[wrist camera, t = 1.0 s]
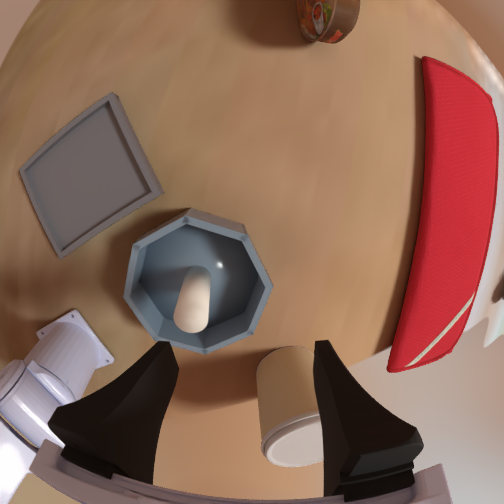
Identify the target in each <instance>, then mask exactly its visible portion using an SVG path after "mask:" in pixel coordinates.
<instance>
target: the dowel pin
mask: <svg viewBox="0 0 504 504" xmlns="http://www.w3.org/2000/svg"><path fill="white" fill-rule="evenodd" d="M210 285H211V275H210V272H209V271H208V270H207V269H206V268H205V267H203V266H192V267H190V268H189V269H188V270H187V272H186V274H185V277H184V281H183V284H182V287H181V291H180V294H179V297H178V301H177V304H176V308H175V311H174V315H173V318H174V322H175V324H176V326H177V327H178V328H179V329H181V330H182V331H184V332H188V333H197V332H200V331H202V330H203V329H204V328H205V327H206V326H207V323H208V314H209V299H210Z"/></svg>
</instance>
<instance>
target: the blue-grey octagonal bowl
mask: <svg viewBox="0 0 504 504" xmlns="http://www.w3.org/2000/svg"><path fill="white" fill-rule="evenodd" d="M132 246H133V247H132V251H131V256H130V262H129V267H128V272H127V278H126V284H125V290H124V296H123V298H124V299H125V301H126V302H127V304H128V305H129V307H130V308H131V309H132V311H133V312H134V314H135V315H136V317H137V318H138V319H139V321H140V322H141V323H142V325H143V326H144V328H145V329H146V330H147V332H148V333H149V334H150V336H151V337H152V338H153V339H154V341H170V344H171V345H172V346H175V347H179V348H182V349H186V350H190V351H194V352H198V353H202V354H207V353H210V352H212V351H215V350H217V349H220V348H222V347H225V346H227V345H229V344H232V343H234V342H236V341H239V340H241V339H243V338H246V337H248V336H250V335H253V334H254V331H255V329H256V326H257V324H258V321H259V319H260V317H261V314H262V312H263V310H264V307H265V305H266V303H267V300H268V298H269V295H270V293H271V291H272V288H273V284H272V282H271V279H270V277H269V275H268V273H267V270H266V269H265V267H264V265H263V263H262V261H261V259H260V257H259V255H258V253H257V251H256V249H255V247H254V245H253V243H252V241H251V239H250V237H249V235H248V233H247V231H246V228H245V226H244V225H243V224H240V223H237V222H234V221H231V220H228V219H225V218H221V217H218V216H215V215H212V214H209V213H206V212H202V211H199V210H196V209H193V208H190V209H188V210H186V211H184V212H182V213H181V214H179V215H177V216H175V217H173V218H171V219H170V220H168V221H166V222H164V223H162V224H161V225H159V226H157V227H155V228H153V229H152V230H150V231H148V232H145V233H144V234H143V235H142V236H141V237H140V238H139V239H138V240H137V241H136V242H135V243H134V244H133V245H132ZM192 266H203V267H205V268H206V269H207V270H208V271H209V272H210V275H211V285H210V299H209V314H208V323H207V326H206V327H205V328H204V329H203V330H202V331H200V332H197V333H188V332H184V331H182V330H181V329H179V328H178V327H177V326H176V324H175V322H174V318H173V315H174V311H175V308H176V304H177V301H178V297H179V294H180V291H181V287H182V284H183V281H184V277H185V274H186V272H187V270H188V269H189V268H190V267H192Z"/></svg>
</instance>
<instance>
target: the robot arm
mask: <svg viewBox="0 0 504 504" xmlns="http://www.w3.org/2000/svg"><path fill="white" fill-rule="evenodd" d="M72 314H73V315H74V316H73V315H72ZM36 334H37V336H38V338H39V339H40V340H39V341H38V342H37V344H36V345H35V346H34V347H33V349H32V350H31V351H30V352H29V354H28V355H27V356H26V357H25V359H24V360H17V359H14V360H12V361H11V362H10V363H9V364H7V365H6V366H5V367H4V368H3V369H2V370H1V372H0V413H1V414H2V415H3V416H4V417H5V418H6V419H7V420H8V421H9V422H10V423H11V424H12V425H13V426H14V427H15V428H16V429H17V430H18V431H20V432H21V433H22V434H23V435H24V436H25V437H26V438H27V439H28V440H30V441H31V442H32V443H33V444H34V445H36V446H37V447H38V448H36V447H34V446H33V445H31V444H30V443H29V442H27V441H26V440H25V439H24V438H23V437H22V436H20V435H19V434H18V433H17V432H16V431H15V430H14V429H13V428H12V427H11V426H10V425H9V424H8V423H7V422H6V421H5V420H4V419H3V418H2V417H1V416H0V504H8V503H9V501H10V500H11V498H12V496H13V495H14V493H15V491H16V490H17V488H18V487H19V485H20V483H21V482H22V480H23V479H24V477H25V476H26V474H27V473H33V474H35V475H36V476H38V477H39V478H40V479H42V480H43V481H45V482H46V483H48V484H49V485H50V486H52V487H53V488H55V489H56V490H58V491H60V492H62V493H63V494H65V495H67V496H69V497H70V498H72V499H74V500H76V501H78V502H80V503H82V504H453V502H452V498H451V494H450V490H449V487H448V483H447V479H446V476H445V472H444V469H443V466H442V464H438V465H435V466H432V467H430V468H427V469H424V470H421V471H419V472H417V473H415V474H413V471H412V469H413V468H414V464H413V460H414V459H415V458H416V456H418V455H419V453H420V452H421V451H422V449H423V447H424V444H423V441H422V439H421V436H420V434H419V432H418V430H417V428H416V427H414V426H412V425H410V424H408V423H406V422H405V421H403V420H401V419H400V418H398V417H397V416H395V415H394V414H392V413H391V412H390V411H388V410H387V409H385V408H384V407H383V406H382V405H380V404H379V403H378V402H377V401H376V400H375V399H374V398H372V397H371V396H370V395H369V394H368V393H367V392H366V391H365V390H364V389H363V388H362V387H361V385H360V384H359V383H358V382H357V381H356V380H355V378H354V377H353V376H352V375H351V373H350V372H349V371H348V370H347V368H346V367H345V365H344V364H343V363H342V361H341V360H340V358H339V357H338V355H337V353H336V352H335V350H334V348H333V347H332V345H331V343H330V341H328V340H322V341H315V350H314V362H313V379H314V389H315V394H316V400H317V405H318V410H319V415H320V420H321V427H322V438H323V458H324V497H320V498H309V499H293V500H249V499H233V498H222V497H213V496H205V495H199V494H192V493H187V492H181V491H177V490H171V489H167V488H163V487H158V486H155V485H153V472H154V462H155V454H156V448H157V443H158V438H159V433H160V429H161V425H162V421H163V418H164V415H165V413H166V410H167V407H168V405H169V402H170V399H171V397H172V394H173V391H174V388H175V385H176V381H177V377H178V372H179V367H178V364H177V361H176V358H175V356H174V353H173V350H172V347H171V344H170V341H158V342H157V343H156V344H155V345H154V346H153V347H152V348H151V349H149V350H148V351H147V352H146V353H145V354H144V355H143V356H142V357H141V358H140V359H139V360H138V361H137V362H136V363H134V364H133V365H132V366H131V367H130V368H129V369H127V370H126V371H125V372H124V373H123V374H121V375H120V376H119V377H118V378H116V379H115V380H113V381H112V382H111V383H109V384H108V385H106V386H105V387H103V388H101V389H99V390H98V391H96V392H94V393H92V394H90V395H88V396H86V397H84V398H82V399H81V397H82V395H83V393H84V391H85V389H86V387H87V385H88V383H89V380H90V378H91V376H92V374H93V372H94V370H95V369H97V368H100V367H103V366H105V365H108V364H111V363H113V362H114V357H113V356H112V355H111V354H110V353H109V351H108V350H107V349H106V348H105V347H104V345H103V344H102V343H101V341H100V340H99V339H98V338H97V336H96V335H95V334H94V332H93V331H92V330H91V328H90V327H89V326H88V324H87V323H86V322H85V320H84V319H83V317H82V316H81V315H80V313H79V312H78V311H77V310H75V309H74V310H72V311H71V312H69V313H67V314H65V315H64V316H62V317H60V318H59V319H57V320H55V321H53V322H52V323H50V324H48V325H47V326H45V327H43V328H42V329H40V330H38V331H37V332H36Z"/></svg>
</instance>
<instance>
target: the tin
mask: <svg viewBox="0 0 504 504" xmlns="http://www.w3.org/2000/svg"><path fill="white" fill-rule="evenodd" d="M296 5H297V12H298V19H299V25H300V29H301V32H302V34H303V35H304V37H305V38H306V39H307V40H309V41H320V42H325V43H337V42H340V41H341V40H343V39H344V38H345V37H346V36H347V35H348V34H349V33H350V32H351V31H352V30H353V28H354V26H355V24H356V22H357V19H358V15H359V11H360V0H296Z"/></svg>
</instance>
